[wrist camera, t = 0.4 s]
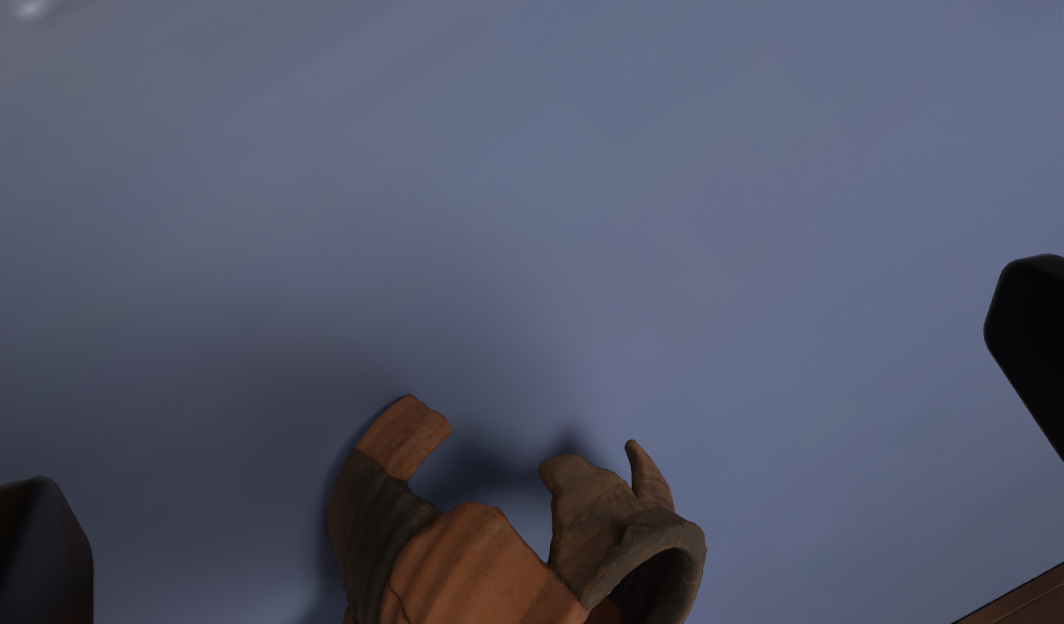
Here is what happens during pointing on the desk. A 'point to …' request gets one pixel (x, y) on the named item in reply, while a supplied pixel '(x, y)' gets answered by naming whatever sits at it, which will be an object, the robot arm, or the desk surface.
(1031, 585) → the cabinet
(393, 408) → the pottery mug
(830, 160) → the desk surface
